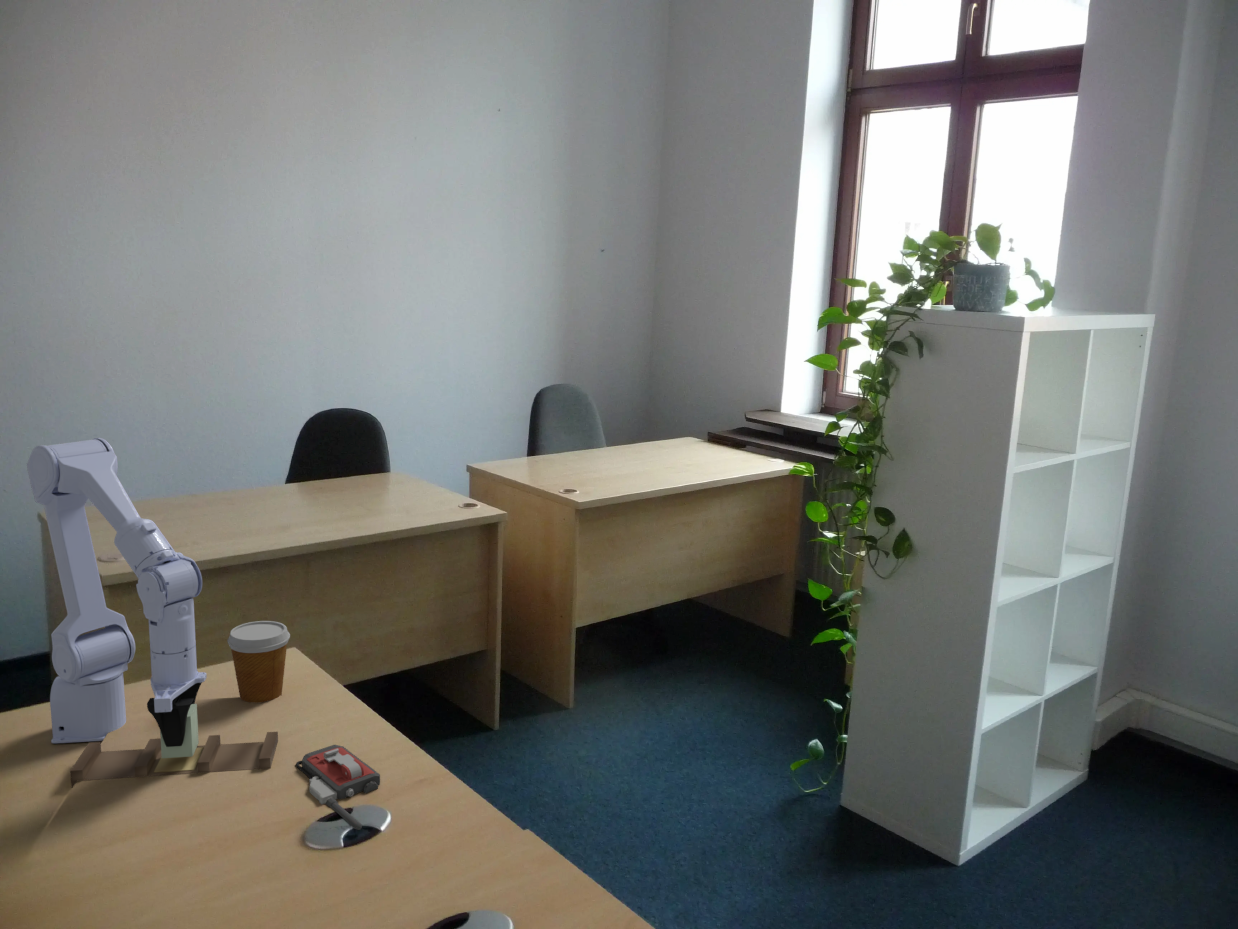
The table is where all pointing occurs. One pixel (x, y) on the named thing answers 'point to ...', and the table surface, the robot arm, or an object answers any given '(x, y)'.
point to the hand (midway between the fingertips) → (178, 737)
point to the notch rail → (173, 759)
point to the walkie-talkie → (338, 777)
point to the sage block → (189, 738)
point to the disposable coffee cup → (259, 659)
